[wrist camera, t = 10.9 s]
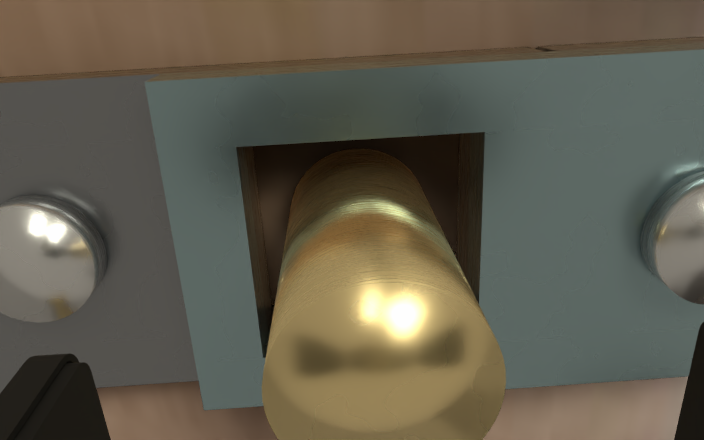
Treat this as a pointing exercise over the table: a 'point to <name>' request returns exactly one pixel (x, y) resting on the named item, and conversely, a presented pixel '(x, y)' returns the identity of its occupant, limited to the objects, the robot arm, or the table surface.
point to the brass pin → (375, 315)
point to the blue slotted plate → (470, 198)
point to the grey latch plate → (112, 224)
